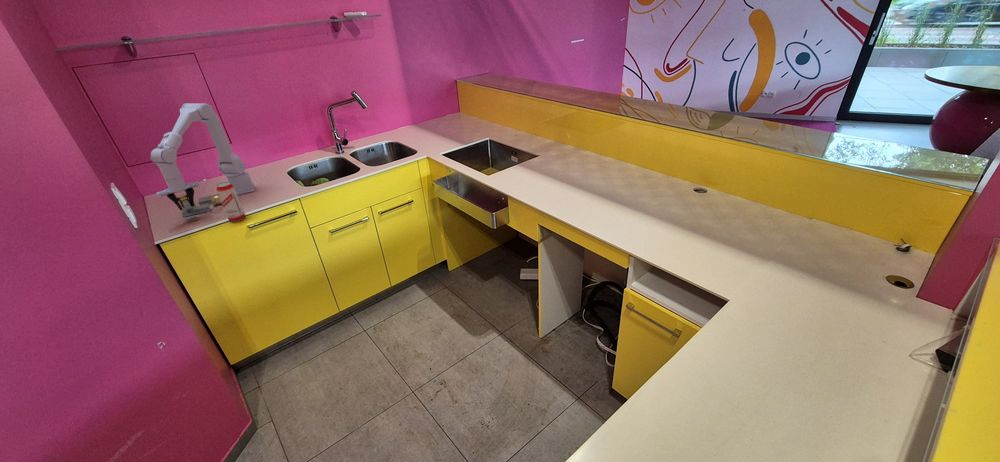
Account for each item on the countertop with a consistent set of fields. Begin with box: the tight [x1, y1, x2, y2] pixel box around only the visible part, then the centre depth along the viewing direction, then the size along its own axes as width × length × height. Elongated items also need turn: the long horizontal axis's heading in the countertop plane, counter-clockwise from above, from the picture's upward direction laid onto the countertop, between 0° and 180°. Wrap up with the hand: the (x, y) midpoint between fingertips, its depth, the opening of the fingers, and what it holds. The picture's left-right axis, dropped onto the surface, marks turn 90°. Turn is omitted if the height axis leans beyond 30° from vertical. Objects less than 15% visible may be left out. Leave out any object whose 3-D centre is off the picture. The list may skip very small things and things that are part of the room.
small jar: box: [176, 194, 194, 213], centre depth 174 cm, size 4×4×7 cm
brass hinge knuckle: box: [179, 201, 211, 218], centre depth 184 cm, size 10×8×4 cm
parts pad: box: [185, 215, 199, 223], centre depth 178 cm, size 4×4×1 cm
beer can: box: [216, 181, 246, 223], centre depth 173 cm, size 6×6×16 cm
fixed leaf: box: [198, 193, 222, 206], centre depth 191 cm, size 10×10×4 cm
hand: (187, 207), depth 175 cm, fingers closed on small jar, 4 cm apart
